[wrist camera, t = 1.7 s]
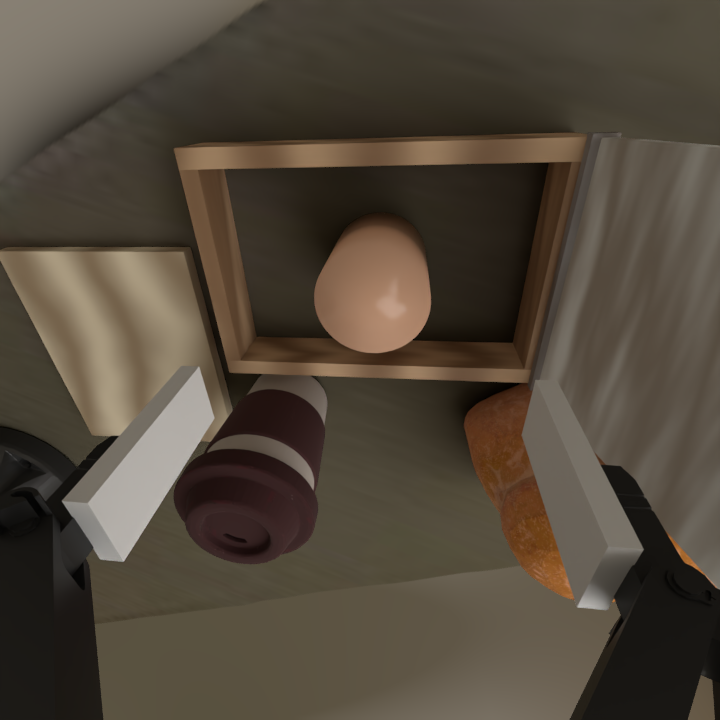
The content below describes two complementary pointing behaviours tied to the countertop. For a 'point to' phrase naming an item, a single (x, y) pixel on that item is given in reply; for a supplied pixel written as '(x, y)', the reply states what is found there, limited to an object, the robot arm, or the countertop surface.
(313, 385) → the coffee cup
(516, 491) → the bread
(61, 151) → the countertop surface
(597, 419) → the cold frame
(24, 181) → the countertop surface
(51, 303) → the board
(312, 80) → the countertop surface
